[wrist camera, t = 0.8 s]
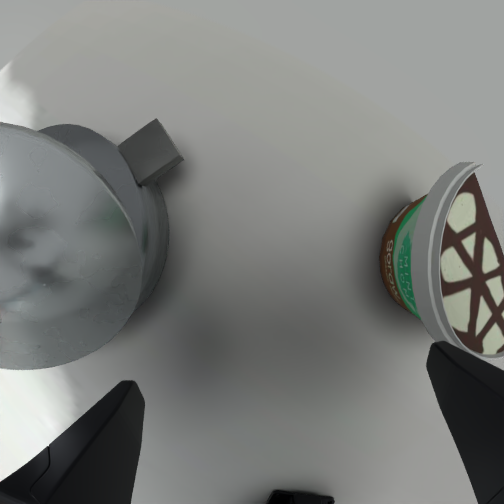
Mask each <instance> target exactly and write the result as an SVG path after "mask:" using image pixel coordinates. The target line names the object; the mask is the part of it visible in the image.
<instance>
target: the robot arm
mask: <svg viewBox="0 0 504 504" xmlns="http://www.w3.org/2000/svg"><path fill="white" fill-rule="evenodd" d="M426 367H427V371H428V374H429V377H430V380H431V383H432V386H433V389H434V392H435V395H436V398H437V401H438V404H439V406H440V409H441V411H442V414H443V416H444V418H445V420H446V423H447V425H448V427H449V430H450V432H451V434H452V436H453V439H454V441H455V444H456V446H457V448H458V451H459V453H460V456H461V458H462V461H463V463H464V466H465V469H466V471H467V474H468V476H469V479H470V482H471V485H472V487H473V490H474V493H475V496H476V499H477V502H478V504H504V371H503V370H502V369H500V368H498V367H496V366H494V365H492V364H490V363H488V362H486V361H484V360H482V359H480V358H478V357H476V356H474V355H472V354H470V353H468V352H466V351H464V350H462V349H460V348H458V347H456V346H454V345H452V344H450V343H448V342H446V341H444V340H442V341H438V342H434V343H432V345H431V347H430V351H429V355H428V359H427V363H426ZM144 409H145V401H144V398H143V396H142V394H141V392H140V389H139V387H138V385H137V383H136V382H135V381H132V380H124V381H121V382H120V383H119V384H117V385H116V386H115V387H114V388H113V389H112V390H111V391H110V392H108V393H107V394H106V395H105V396H104V397H103V398H102V399H101V400H99V401H98V402H97V403H96V404H95V405H94V406H93V407H91V408H90V409H89V410H88V411H87V412H86V413H85V414H84V415H82V416H81V417H80V418H79V419H78V420H77V421H76V422H74V423H73V424H72V425H71V426H70V427H69V428H68V429H66V430H65V431H64V432H63V433H62V434H61V435H60V436H58V437H57V438H56V439H55V440H54V441H53V442H52V443H50V444H49V446H47V447H46V448H45V449H44V450H42V451H41V452H40V453H39V454H38V455H36V456H35V457H34V458H33V459H32V460H30V461H29V462H28V463H26V464H25V465H24V466H22V467H21V468H20V469H18V470H17V471H15V472H14V473H12V474H11V475H10V476H8V477H7V478H5V479H4V480H2V481H1V482H0V504H131V498H132V493H133V487H134V482H135V476H136V471H137V466H138V460H139V455H140V450H141V443H142V431H143V420H144ZM329 501H330V502H329ZM334 502H335V501H334V498H333V497H325V496H315V495H306V494H299V493H292V492H285V491H279V490H276V491H273V492H272V494H271V495H270V497H269V499H268V501H267V503H266V504H334Z"/></svg>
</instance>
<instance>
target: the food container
mask: <svg viewBox="0 0 504 504" xmlns="http://www.w3.org/2000/svg"><path fill="white" fill-rule="evenodd" d="M482 166H483V164H482V165H478V166H476V164H475V162H462V163H458V164H457V165H455V166H453V167H451V168H450V169H449V170H448V171H446V172H445V173H444V174H443V175H442V176H441V177H440V178H439V179H438V180H437V182H436V183H435V184H434V186H433V187H432V188H431V190H430V192H429V194H427V195H425V196H423V197H421V198H420V199H418V200H416V201H414V202H412V203H411V204H409V205H407V206H405V207H404V208H402V209H401V210H400V212H399V213H398V214H397V215H396V216H395V217H394V218H393V219H392V220H391V221H390V224H389V226H388V228H387V230H386V232H385V234H384V236H383V238H382V244H381V250H380V256H379V259H380V271H381V275H382V279H383V282H384V285H385V287H386V289H387V291H388V292H389V294H390V295H391V297H392V298H393V299H394V300H395V301H396V302H397V303H398V304H399V305H401V306H402V307H403V308H405V309H406V310H408V311H409V312H411V313H412V314H413V315H415V316H416V317H418V318H419V319H421V320H422V322H423V324H424V325H425V327H426V329H427V331H428V333H429V334H430V335H431V337H432V338H433V339H434V340H435V341H436V342H438V341H442V340H444V341H446V342H448V343H450V344H452V345H454V346H456V347H458V348H460V349H462V350H464V351H466V352H468V353H470V354H472V355H474V356H476V357H478V358H480V359H482V360H484V361H491V360H495V359H501V358H504V255H503V252H502V249H501V246H500V243H499V240H498V238H497V235H496V232H495V230H494V227H493V224H492V222H491V219H490V216H489V213H488V210H487V207H486V204H485V201H484V198H483V195H482V192H481V189H480V186H479V183H478V181H477V178H476V175H475V173H474V171H476V170H477V169H479V168H480V167H482Z"/></svg>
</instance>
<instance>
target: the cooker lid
mask: <svg viewBox="0 0 504 504" xmlns="http://www.w3.org/2000/svg"><path fill="white" fill-rule="evenodd" d="M141 283H142V265H141V255H140V251H139V247H138V242H137V238H136V234H135V231H134V227H133V224H132V222H131V219H130V217H129V215H128V212H127V210H126V208H125V206H124V204H123V203H122V201H121V200H120V198H119V196H118V195H117V193H116V191H115V190H114V189H113V188H112V186H111V185H110V184H109V183H108V182H107V180H106V179H105V178H104V177H103V175H102V174H101V173H100V172H99V171H97V170H96V169H95V168H94V167H93V166H92V165H91V164H90V163H89V162H88V161H87V160H86V159H85V158H83V157H82V156H80V155H79V154H78V153H76V152H75V151H73V150H72V149H71V148H69V147H68V146H66V145H64V144H63V143H61V142H59V141H57V140H55V139H53V138H51V137H49V136H47V135H46V134H43V133H40V132H37V131H35V130H32V129H29V128H26V127H23V126H18V125H13V124H8V123H2V122H0V368H1V369H10V370H33V369H43V368H50V367H55V366H59V365H63V364H66V363H69V362H72V361H75V360H78V359H80V358H82V357H84V356H87V355H89V354H90V353H92V352H94V351H96V350H97V349H99V348H100V347H102V346H103V345H105V344H106V343H107V342H109V341H110V340H111V339H112V338H113V337H114V336H115V335H116V334H117V333H118V332H119V331H120V330H121V329H122V327H123V326H124V325H125V324H126V323H127V321H128V319H129V318H130V316H131V314H132V313H133V311H134V308H135V306H136V303H137V301H138V298H139V294H140V289H141Z"/></svg>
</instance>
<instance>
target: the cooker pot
mask: <svg viewBox="0 0 504 504" xmlns="http://www.w3.org/2000/svg"><path fill="white" fill-rule="evenodd" d="M37 132H40V133H43V134H46V135H47V136H49V137H51V138H53V139H55V140H57V141H59V142H61V143H63V144H64V145H66V146H68V147H69V148H71V149H72V150H73V151H75V152H76V153H78V154H79V155H80V156H82V157H83V158H85V159H86V160H87V161H88V162H89V163H90V164H91V165H92V166H93V167H94V168H95V169H96V170H97V171H99V172H100V173H101V174H102V175H103V177H104V178H105V179H106V180H107V182H108V183H109V184H110V185H111V186H112V188H113V189H114V190H115V191H116V193H117V195H118V196H119V198H120V200H121V201H122V203H123V204H124V206H125V208H126V210H127V212H128V215H129V217H130V219H131V222H132V224H133V227H134V231H135V234H136V238H137V242H138V247H139V251H140V255H141V265H142V283H141V289H140V294H139V298H138V301H137V303H136V306H135V308H134V311H135V310H136V309H137V308H139V307H140V305H141V304H142V303H143V302H144V301H145V300H146V299H147V298H148V296H149V295H150V294H151V292H152V291H153V290H154V288H155V286H156V284H157V282H158V280H159V278H160V276H161V273H162V271H163V268H164V264H165V261H166V257H167V251H168V244H169V223H168V214H167V210H166V205H165V202H164V199H163V196H162V193H161V191H160V189H159V187H158V185H157V183H156V181H155V179H157V178H158V177H160V176H161V175H163V174H164V173H165V172H167V171H168V170H170V169H171V168H173V167H174V166H176V165H177V164H179V163H180V162H181V161H183V160H184V159H183V157H182V155H181V154H180V152H179V151H178V149H177V148H176V146H175V144H174V143H173V141H172V140H171V138H170V137H169V135H168V133H167V132H166V130H165V129H164V127H163V126H162V124H161V123H160V122H159V121H158V119H157V118H156V119H155V120H153V121H152V122H150V123H149V124H147V125H146V126H144V127H143V128H142V129H140V130H139V131H137V132H136V133H135V134H133V135H132V136H131V137H129V138H128V139H127V140H125V141H124V142H122V143H121V144H120V145H119V146H116V145H115V144H113V143H112V142H110V141H109V140H107V139H106V138H104V137H103V136H101V135H100V134H98V133H96V132H94V131H93V130H91V129H88V128H85V127H82V126H79V125H71V124H62V125H55V126H50V127H47V128H44V129H41V130H39V131H37Z"/></svg>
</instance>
